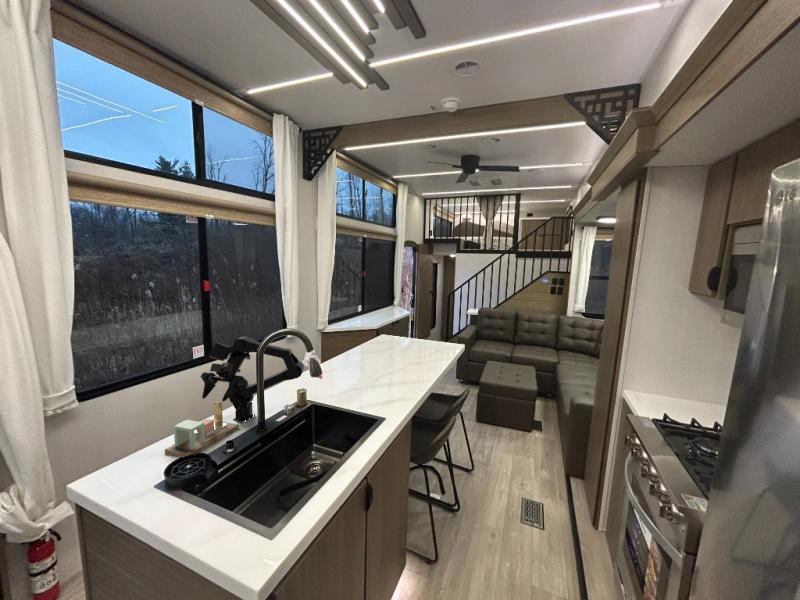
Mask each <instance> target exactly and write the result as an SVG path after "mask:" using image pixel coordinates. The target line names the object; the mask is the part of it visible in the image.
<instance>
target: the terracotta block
mask: <svg viewBox="0 0 800 600" xmlns="http://www.w3.org/2000/svg"><path fill="white" fill-rule="evenodd" d="M200 422H203V423H204V432H205V433H207V432H208V431H210V430H212V429H214V419H208V418H205V419H203V420H201V421H200ZM196 430H197V432H200V428H198V429H196Z"/></svg>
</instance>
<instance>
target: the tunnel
mask: <svg viewBox="0 0 800 600" xmlns="http://www.w3.org/2000/svg"><path fill="white" fill-rule="evenodd" d="M198 428H200V443H201V444H203V443H205V432H204V423H203V422H201V421H198V420H197V421H196V420H193V419H192V420H191V419H186V420H183V421H181V422H179V423H177V424H175V425H174V426H173V433H174V434H173V435H174V444H175V446H176V447H177V446H179V445H181V444H183V443H185V442H186V441H188V440H190V449H191V450H193V449H195V437H194V431H196V430H197V429H198Z"/></svg>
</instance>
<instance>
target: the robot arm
mask: <svg viewBox="0 0 800 600" xmlns="http://www.w3.org/2000/svg"><path fill="white" fill-rule="evenodd" d="M261 343H262V342H260V341H258V340H256V339H254V338H252V337H249V336H246V335H245V336H243V335H242V336H241V337H239V338H237V339H236V340H235V341H233V344H231V345H227V344H224V343H222V342H219V341H216V343H215V344H214V346H213V347H212V349H211V350H210V351H209V354H208V357H209V358H211V359H215V360H217V361H221V362H223V363H221V364H220V363H215V362H214V363H213V362H212V364H211V366H210V369H209V371H204V372H202V373H201V375H200V378H201V380H202V381H203V383H204V385H203V391H202V397H201V398H202V399H203V400H205V399H206V398H207V397H208V396H209V394H210V393H211V392H212V391H213V390H214V389H215V387H216V386H217V385H216V384H218V382H222V383H228V387H227V389H226V391H225V393H224V395H223V396H222V399H221V402H222V403H224V402H225V401H227V400H228V399H229V401H230V403H232V405H233V408H234V409H235V412H234V413H235V418H232V421H234V420H237V421H236V422H240V421H245V420H246V421H247V420H248V419H249V418H251V419H253V418H254V417H253V414H254V413H253V412H254V411H253V400H254V397H255V396H254V395H255V394H257V393H258V392H257V382H258V381H256V382H255V383H251V384H249V380H247V379H246V377H244V376H242V375H237V374H238V373H240V372H241V369H240V368H241V366H242V365H243V364H244V362H245V360H248V361H250V360H251V355H250V353H257V349H258V347H259V345H260V344H261ZM263 355H267V356H272V357H274V358H280V359H282V360H283V362H284V365H285V366H286V368H284V369H283V370H281V371H279V372H277V373H274V374H272V375H270V376H268V377H266V378H264V390H266V389H268V388H271V387H273V386H275V385H277V384H279V383H281V382H284V381H292V380H295V379H299V378H300V377H301V376H302V374H303V373H304V370H305V366H304V364H303V363H302V362H300V360H299V358H298V357H297V356H296V355H295V354H294V353H293V352H292V349H290V348H284V347H281V346H276V345H271V344H268V346H267V347H266V349H265V351H264V354H263ZM225 360H226V362H224V361H225ZM214 372H215V373H214ZM255 415H256V414H254V416H255ZM252 417H253V418H252ZM255 417H256V416H255ZM248 421H249V420H248ZM248 421H247V422H248Z"/></svg>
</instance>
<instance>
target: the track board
mask: <svg viewBox="0 0 800 600" xmlns="http://www.w3.org/2000/svg"><path fill="white" fill-rule="evenodd" d="M214 423H215V422H214ZM223 423H225V424H228V426H227V427H225V428H223V429H222V430H220V431H218V432H216V433H215V434H213V435H211V436H210V437H208V438H206V439H205V443H203V444H201V443H200V438H197V437H195V449H193V450H191V449H190V440H188V441H186V442H185V443H183V444H181V445H179V446H177V447H176V446H175V443H174V444H172V445H170V446H168V447H167V448H165V449H164V454H166V455H169V456H171V455H172V456H175V457H180V458H184V457H183V456H188V455H191V454H196V453H198V454H199V453H201V452H202V451H204V450H206V449H207V448H209V447H211V446H212V445H214V444H216V443H217V442H219V441H220V440H223V439H224V438H225V437H227V436H229V435H230V434H232V433H234V432H235V431H237V430H238V429H240V424H239V423H238V424H237V423H232V422H225V421H223ZM237 428H238V429H237ZM236 429H237V430H236ZM234 430H235V431H234ZM231 432H232V433H231ZM228 434H229V435H228ZM196 455H197V454H196Z"/></svg>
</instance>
